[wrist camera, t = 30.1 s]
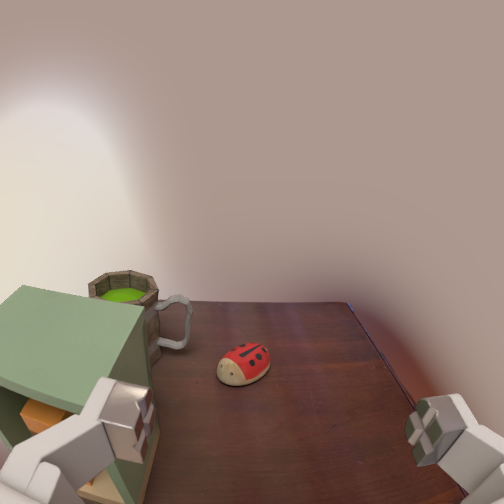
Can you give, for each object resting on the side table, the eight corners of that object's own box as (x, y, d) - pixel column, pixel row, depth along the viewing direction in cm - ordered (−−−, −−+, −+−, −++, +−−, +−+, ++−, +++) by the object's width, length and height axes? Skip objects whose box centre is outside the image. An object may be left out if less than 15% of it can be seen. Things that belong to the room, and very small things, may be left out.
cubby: (140, 514, 23) (92, 408, 16) (29, 475, 22) (-49, 353, 15) (160, 433, 34) (144, 306, 27) (63, 408, 34) (22, 284, 26)
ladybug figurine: (205, 373, 46) (206, 356, 44) (247, 346, 53) (249, 329, 52) (239, 397, 42) (242, 380, 40) (280, 364, 49) (283, 347, 48)
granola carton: (92, 486, 23) (57, 428, 18) (59, 474, 22) (19, 413, 18) (104, 451, 27) (78, 387, 23) (73, 442, 27) (43, 376, 23)
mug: (89, 369, 42) (74, 302, 37) (107, 328, 52) (99, 267, 47) (190, 380, 44) (190, 313, 39) (194, 336, 54) (195, 274, 49)
